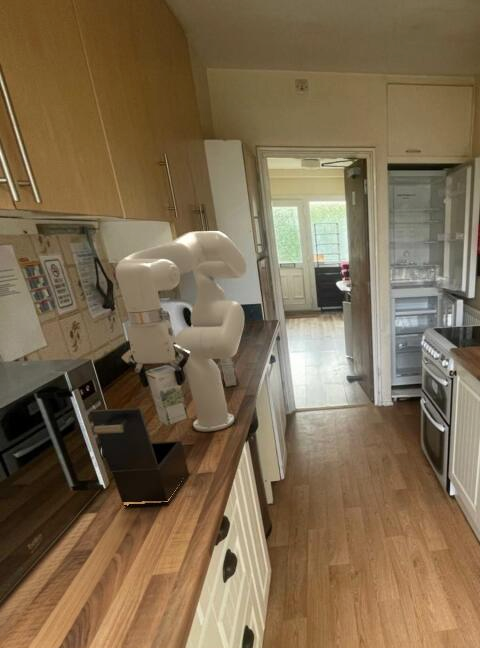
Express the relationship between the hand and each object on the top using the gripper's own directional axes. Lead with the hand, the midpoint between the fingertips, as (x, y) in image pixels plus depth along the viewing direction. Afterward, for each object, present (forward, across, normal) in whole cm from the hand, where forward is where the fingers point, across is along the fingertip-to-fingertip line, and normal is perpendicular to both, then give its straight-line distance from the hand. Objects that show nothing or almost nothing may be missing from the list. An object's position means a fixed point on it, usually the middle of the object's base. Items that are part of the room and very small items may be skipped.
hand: (164, 384), depth 111 cm
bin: (+21, 0, +17) cm, 27 cm away
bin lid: (+4, 0, +23) cm, 23 cm away
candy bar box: (+23, +3, -62) cm, 66 cm away
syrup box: (+11, 0, 0) cm, 11 cm away
